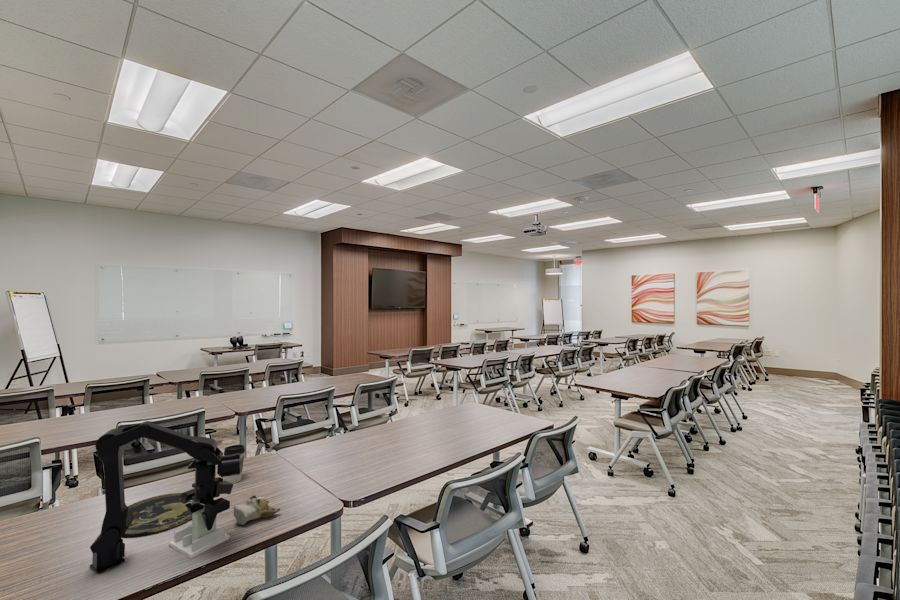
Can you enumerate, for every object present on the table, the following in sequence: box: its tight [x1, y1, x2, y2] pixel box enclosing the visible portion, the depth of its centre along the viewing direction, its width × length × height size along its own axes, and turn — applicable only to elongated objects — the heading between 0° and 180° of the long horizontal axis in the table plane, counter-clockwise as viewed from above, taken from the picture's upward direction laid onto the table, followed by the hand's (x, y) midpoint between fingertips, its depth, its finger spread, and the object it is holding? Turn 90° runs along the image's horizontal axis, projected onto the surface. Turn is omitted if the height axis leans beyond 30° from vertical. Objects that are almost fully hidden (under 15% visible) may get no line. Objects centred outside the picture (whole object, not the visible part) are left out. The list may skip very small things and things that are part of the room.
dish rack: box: [168, 524, 230, 559], centre depth 129 cm, size 12×13×4 cm
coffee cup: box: [223, 444, 246, 484], centre depth 175 cm, size 8×8×15 cm
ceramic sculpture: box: [233, 495, 281, 526], centre depth 144 cm, size 11×9×15 cm
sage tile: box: [191, 509, 217, 542], centre depth 127 cm, size 6×3×10 cm, turn 150°
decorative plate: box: [121, 491, 206, 539], centre depth 146 cm, size 30×2×30 cm
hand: (204, 527), depth 127 cm, fingers open, 6 cm apart
